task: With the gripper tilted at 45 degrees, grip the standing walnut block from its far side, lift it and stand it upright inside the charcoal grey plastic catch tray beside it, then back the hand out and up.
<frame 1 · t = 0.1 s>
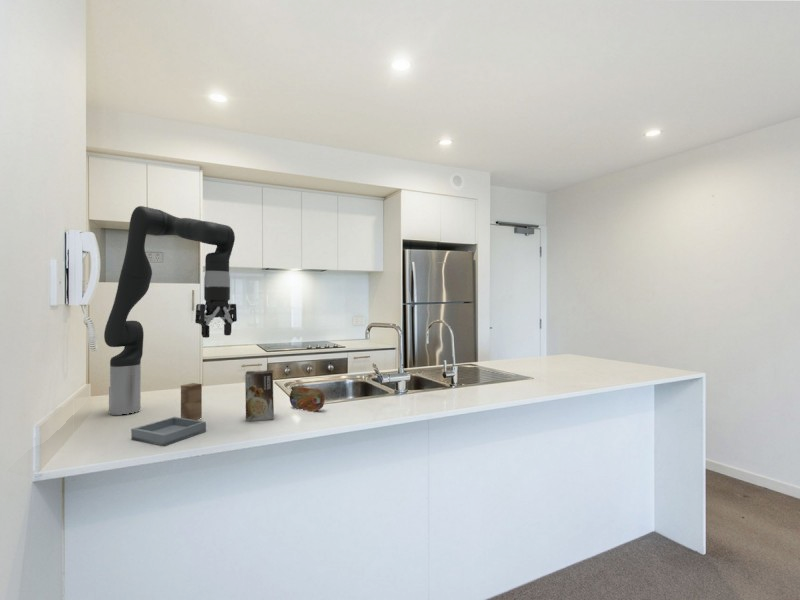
hand: (216, 336, 131), 29 cm above the countertop, tool pointing down, fingers open, 8 cm apart
tin: (307, 410, 153), on the countertop
coffee box: (259, 418, 142), on the countertop
walnut block: (191, 419, 140), on the countertop
catch tray: (169, 435, 124), on the countertop
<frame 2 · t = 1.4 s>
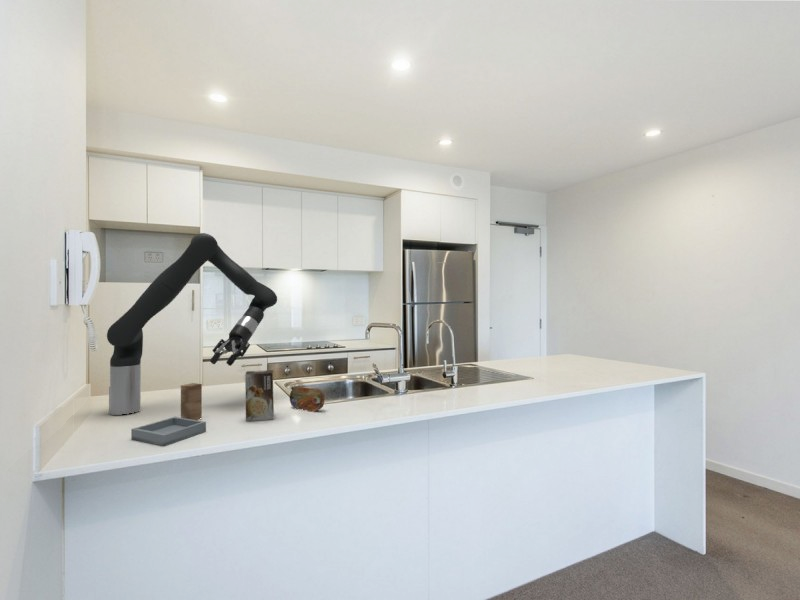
hand: (220, 363, 150), 17 cm above the countertop, tool tilted 45°, fingers open, 8 cm apart
nothing on the countertop moved.
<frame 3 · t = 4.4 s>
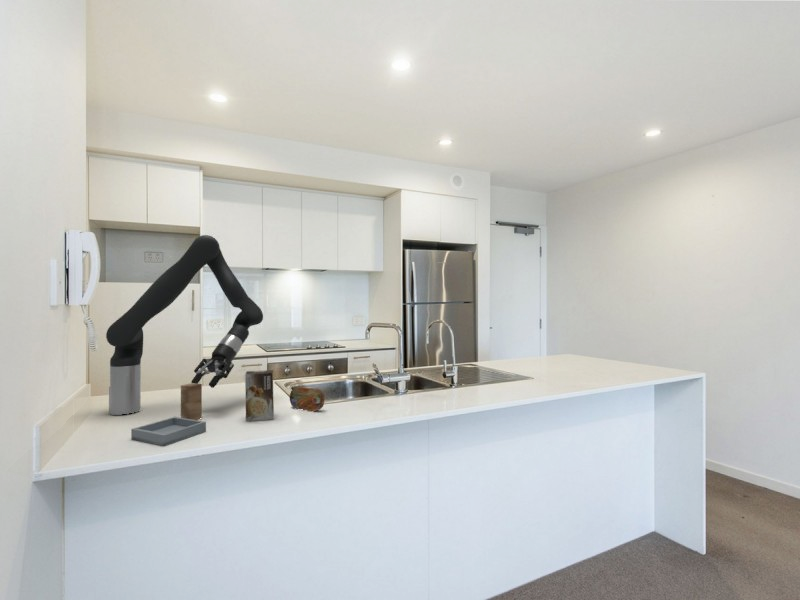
hand: (202, 385, 144), 11 cm above the countertop, tool tilted 45°, fingers open, 8 cm apart
nothing on the countertop moved.
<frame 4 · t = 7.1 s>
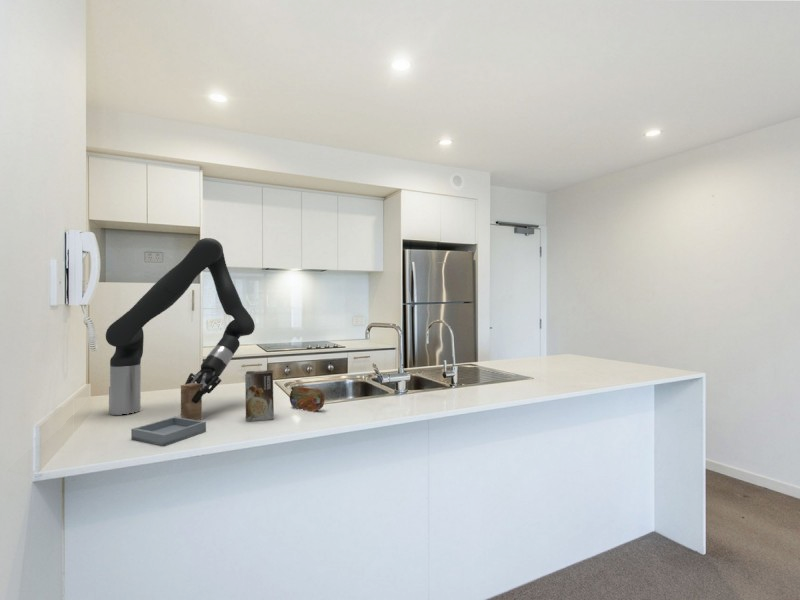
hand: (188, 401, 139), 7 cm above the countertop, tool tilted 45°, fingers closed on walnut block, 4 cm apart
walnut block: (191, 419, 140), on the countertop, touching gripper
everything else where it was.
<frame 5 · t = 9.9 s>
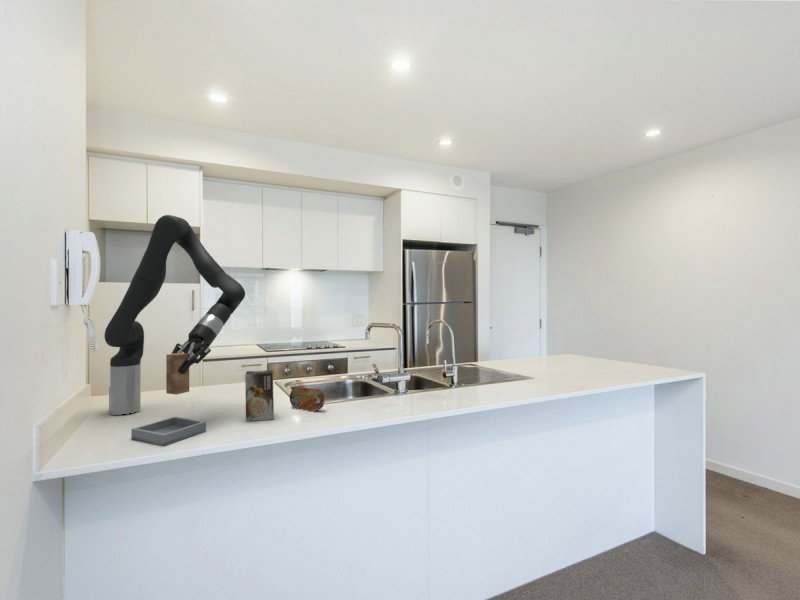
hand: (174, 371, 127), 19 cm above the countertop, tool tilted 45°, fingers closed on walnut block, 4 cm apart
walnut block: (177, 392, 128), point 12 cm above the countertop, touching gripper
everything else where it was.
when the fingers open (8 cm above the countertop, at t = 13.0 s): walnut block drops 1 cm, resting on catch tray.
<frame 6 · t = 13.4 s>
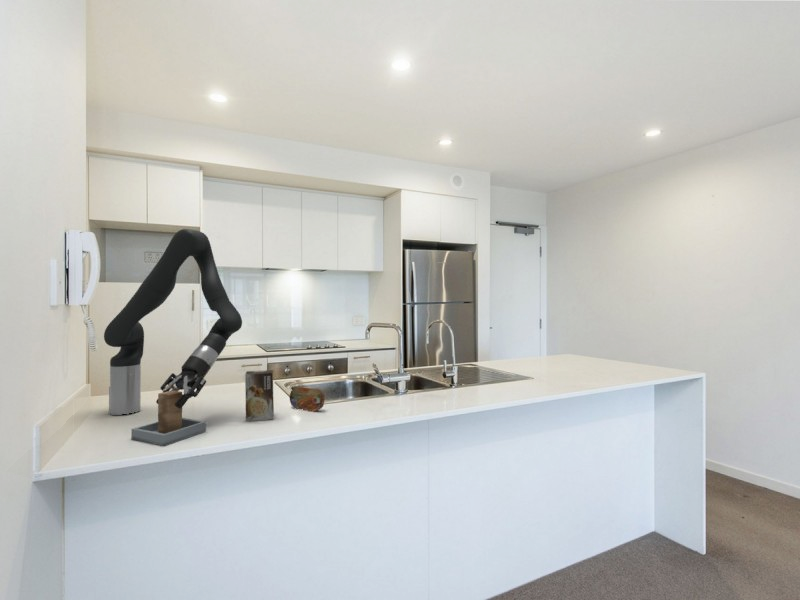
hand: (167, 405, 123), 9 cm above the countertop, tool tilted 45°, fingers open, 8 cm apart
walnut block: (170, 432, 124), point 1 cm above the countertop, touching catch tray
everything else where it was.
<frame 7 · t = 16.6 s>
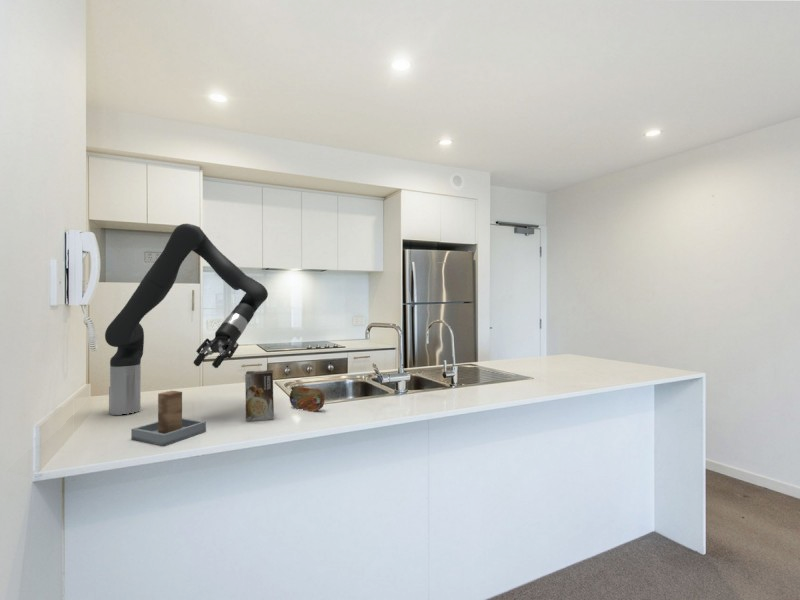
hand: (204, 365, 135), 19 cm above the countertop, tool tilted 45°, fingers open, 8 cm apart
nothing on the countertop moved.
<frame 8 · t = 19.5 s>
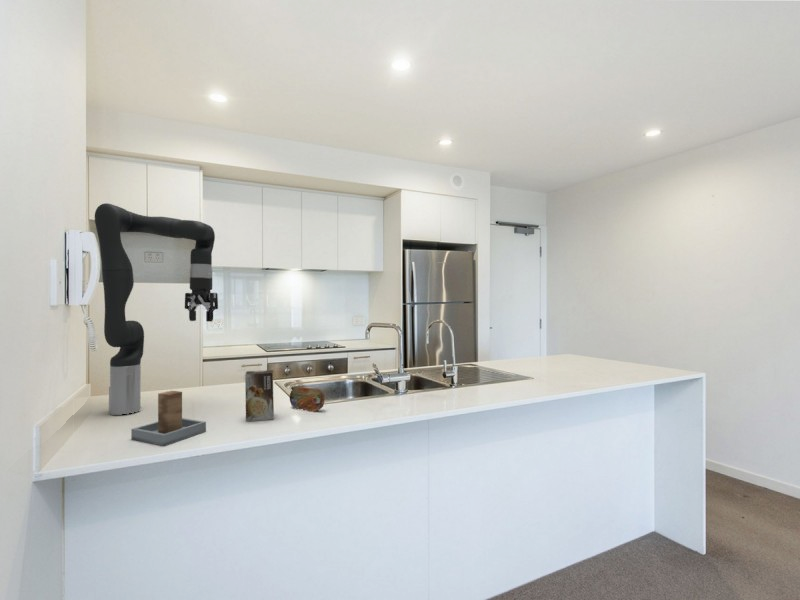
hand: (201, 321, 150), 33 cm above the countertop, tool pointing down, fingers open, 8 cm apart
nothing on the countertop moved.
at the end: walnut block inside the target area on the catch tray (0.2 cm from its centre), point 0.8 cm above the catch tray's base; walnut block tilted 0°; the gripper is holding nothing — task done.
